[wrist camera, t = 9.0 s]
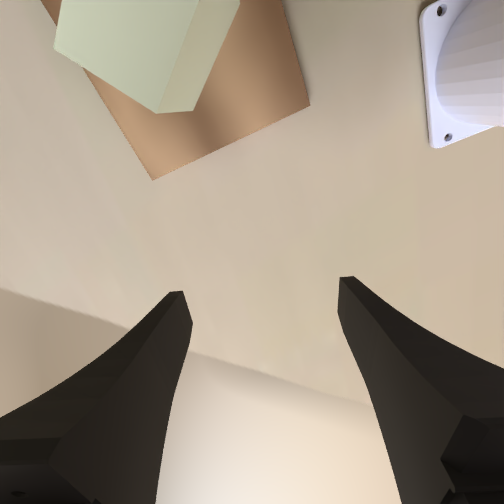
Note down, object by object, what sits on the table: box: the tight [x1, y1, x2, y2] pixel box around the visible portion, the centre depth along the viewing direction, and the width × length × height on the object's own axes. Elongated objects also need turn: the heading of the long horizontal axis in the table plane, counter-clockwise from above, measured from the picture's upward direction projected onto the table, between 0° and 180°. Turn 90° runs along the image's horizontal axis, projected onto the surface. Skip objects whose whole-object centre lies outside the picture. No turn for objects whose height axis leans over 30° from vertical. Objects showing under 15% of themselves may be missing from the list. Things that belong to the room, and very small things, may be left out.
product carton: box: [53, 0, 240, 114], centre depth 12 cm, size 4×6×7 cm
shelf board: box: [41, 0, 310, 181], centre depth 14 cm, size 12×12×2 cm
